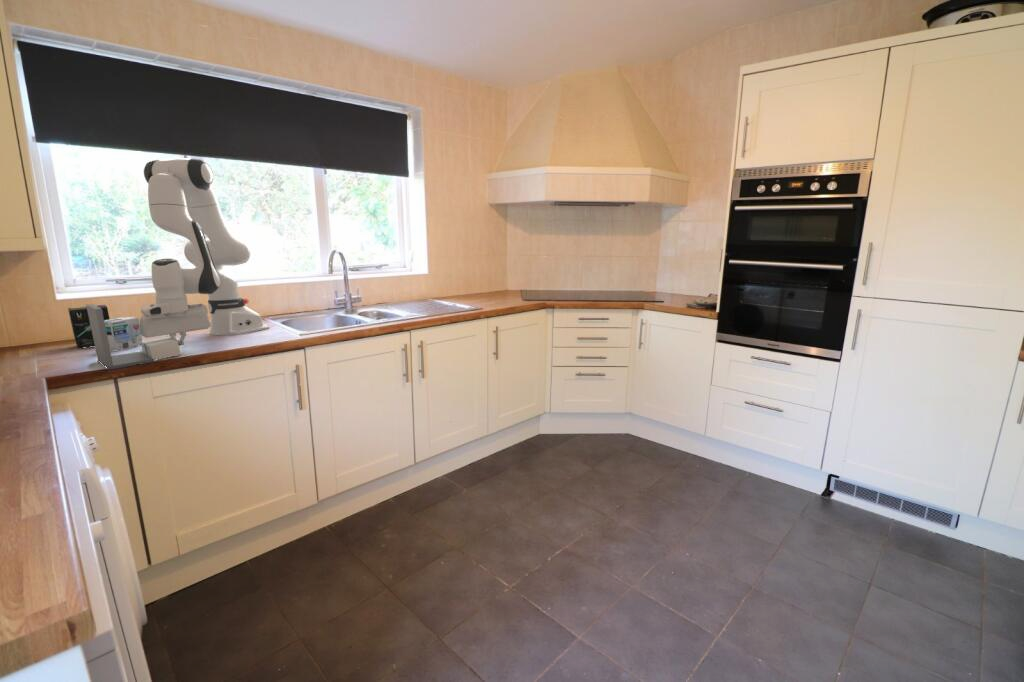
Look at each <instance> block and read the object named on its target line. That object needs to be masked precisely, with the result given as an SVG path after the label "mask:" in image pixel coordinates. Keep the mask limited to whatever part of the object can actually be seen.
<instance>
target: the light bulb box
mask: <svg viewBox="0 0 1024 682" xmlns="http://www.w3.org/2000/svg"><path fill="white" fill-rule="evenodd" d="M104 323H105V327H106V332H107V337H108V342H109V347H110V350H119V351H122V350H121V349H123V350H126V349H125V348H127V349H130V348H129V347H131V348H135V347H134V346H136V347H139V346H138V345H140V346H141V342H140V341H143V336H142V335H141V332H140V319H139V317H138V316H134V317H133V316H122V317H117V318H110V319H109V320H104Z"/></svg>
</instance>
